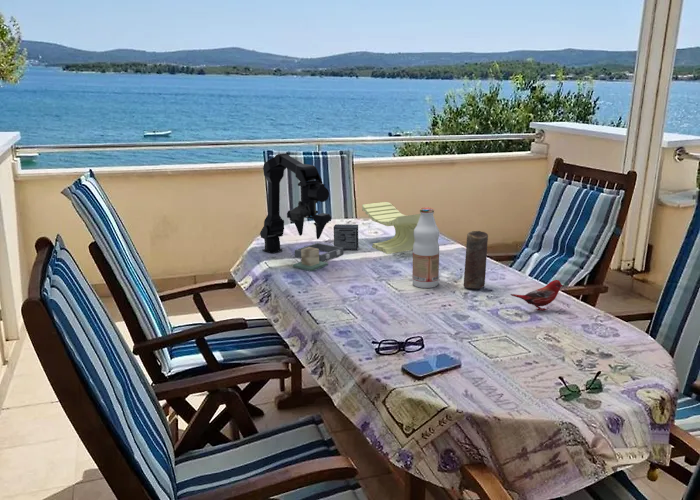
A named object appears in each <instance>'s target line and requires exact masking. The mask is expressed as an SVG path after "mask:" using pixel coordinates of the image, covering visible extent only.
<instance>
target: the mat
mask: <svg viewBox="0 0 700 500" xmlns="http://www.w3.org/2000/svg"><path fill="white" fill-rule="evenodd" d="M327 266H329V263H328V262H327V261H324V262H322V261H319V264H316V265H313V266H308V265H304V264H302V262H301V261H299V262H296V263H293V264H292V267H293V268H296V269H301V270H304V271H309V272H314V271H317V270H318V269H322V268H325V267H327Z"/></svg>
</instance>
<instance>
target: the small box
mask: <svg viewBox="0 0 700 500" xmlns="http://www.w3.org/2000/svg"><path fill="white" fill-rule="evenodd" d="M333 246H336V247H341V248H343V251H358V250H359V224H347V223H346V224H345V223H344V224H338V223H337V224H334V226H333Z"/></svg>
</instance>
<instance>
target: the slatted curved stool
mask: <svg viewBox="0 0 700 500" xmlns="http://www.w3.org/2000/svg"><path fill="white" fill-rule="evenodd" d="M361 208H362V209H361V210H362V211H363V212H365V213H364V214H365V215H368V218H370V219H371V222H375V223H378V224H379V225H383V226H386V227H393V229H394V231H395V233H394V236H392V238H390V239H388V240H384V241H380V242H379V241H378V242H375V243H372V245H371V248H372V249H375V250H377V251H380V252H381V253H383V254H386V255H391V254H396V253H402V252H408V251H413V245H414V242H415V239H414V229H415V227H416V226H417V224H418V221H419V218H420V216H421V213H418V214H411V215H410V214H409V215H405V214H403V213H401V211H400V210H398V208H396V207H395V206H394V205H393V204H392V203H391V202H388V201H381V202H375V203H372V202H371V203H366V204H364V203H363V204H362V205H361Z"/></svg>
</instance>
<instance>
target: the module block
mask: <svg viewBox="0 0 700 500" xmlns="http://www.w3.org/2000/svg"><path fill="white" fill-rule="evenodd" d="M319 255H320V250H319V249H317V248H312V247H308V248H305V249H301V258H300V259H301V261H300V262H302V264H304V265H308V266H313V265H316V264H319Z"/></svg>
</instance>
